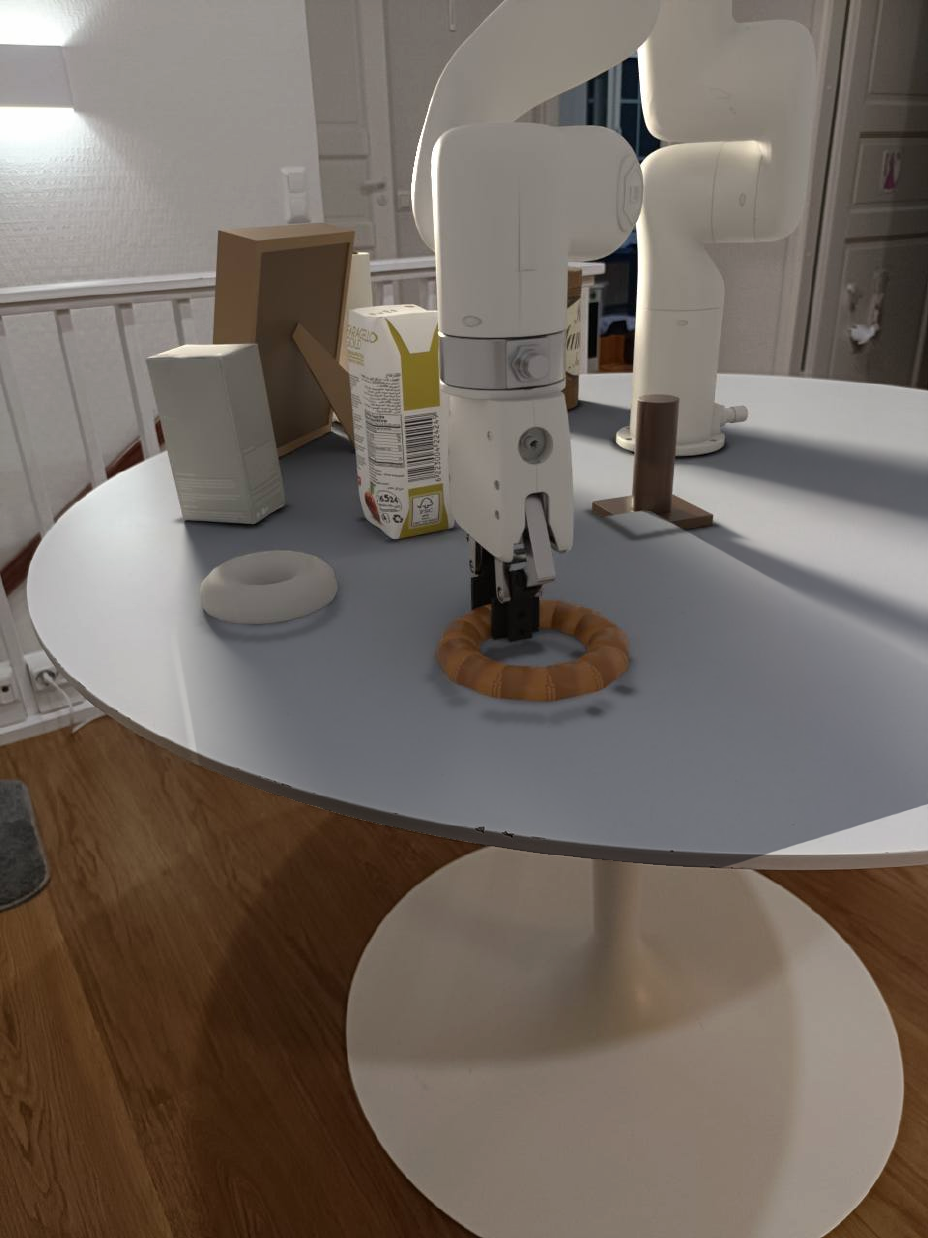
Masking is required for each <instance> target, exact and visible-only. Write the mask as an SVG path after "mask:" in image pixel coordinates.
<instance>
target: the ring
mask: <svg viewBox="0 0 928 1238" xmlns="http://www.w3.org/2000/svg"><path fill="white" fill-rule="evenodd" d="M539 629H551V630H555V631H558V632H560V633H564V634H567V635H571V636H574V637H575V638H576V639H577V640H578V641H579V642H580V643H581V644H583V645H584V646H585V648H586V653H584V654H583V655H581V656H580V657H578V658H577V659H575V660H571V661H566V662H562V663H561V662H560V663H557V664H551V665H547V666H538V665H537V666H536V665H535V666H534V665H520V664H519V665H517V664H516V665H515V664H506V663H504V662H502V661H499V660H496V659H492V658H490V657H487V656H484V655H483V654H482V653H481V652H480V650H481V649H480V648H481V646H482V643H484V642H485V641H487V640H488V639H490V638H492V627H491V604H489V605H483V606H480V607H477V608H476V609H474V610H472V611H471V610H470V611H469V612H466V613H464V614H463V615H461V616H459V617H458V618H456V619H454V620H452V621H451V622H450V623H448V624H447V626H446V627H445V628H444V631H443V633H442V635H441V638H440V641H439V643H438V645H437V648H436V651H435V660H436V662H437V663H438V665H439V666H440V667H441V668H442V670H443V671H444V672H445V674H446V676H447V677H448V678H449V679H450V681H451V682H453V683H455V684H456V685H460V686H462V687H465V688H467V689H470V690H472V691H475V692H477V693H480V694H483V695H485V696H487V697H491V698H494V699H499V700H513V701H515V700H516V701H528V702H529V701H530V702H531V701H532V702H556V701H560V700H565V699H570V698H574V697H578V696H583V695H587V694H591V693H596V692H599V691H601V690H604V689H605V688H606V687H607V686H609V685H610V684H611V683H612V682H614V681H615V680H617V679H618V678H619V677H620V676H622V675H623V674H624V673H626V672H627V671H628V670H629V666H630V659H629V658H630V654H629V653H630V649H629V648H630V646H629V639H628V637H627V634H626V632H624V631H623V630H622V629H621V628H620V627H618V625H616V624H615V623H614V622H613V621H612V620H610V619H608V618H607V617H606V616H605V615H604V614H603V613H601V612H600V611H597V610H595V609H591V608H589V607H588V608H587V607H585V606H581V605H577V604H574V603H571V602H567V601H564V600H557V599H540V600H539Z"/></svg>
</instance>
